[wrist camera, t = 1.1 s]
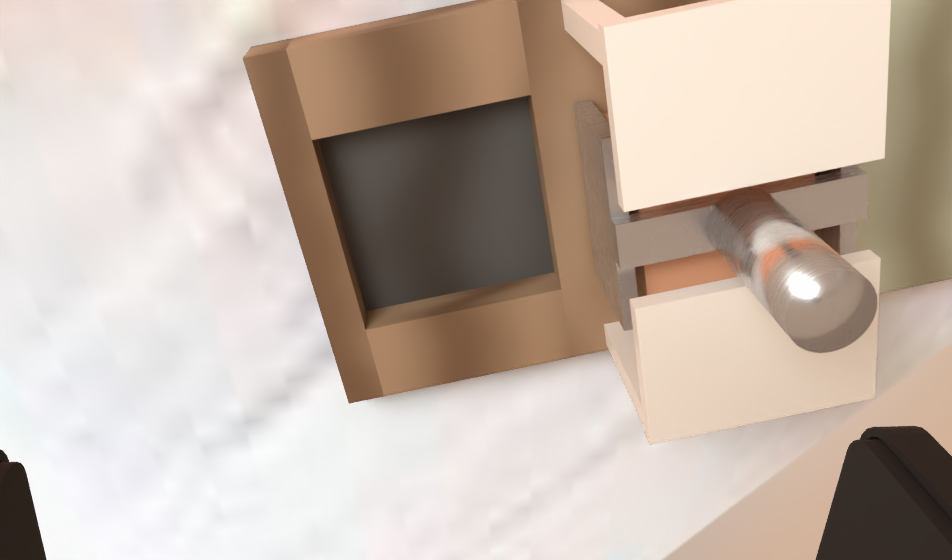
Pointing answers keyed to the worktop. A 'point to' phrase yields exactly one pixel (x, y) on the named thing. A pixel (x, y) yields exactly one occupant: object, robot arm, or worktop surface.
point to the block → (689, 257)
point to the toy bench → (735, 186)
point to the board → (516, 182)
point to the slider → (740, 242)
